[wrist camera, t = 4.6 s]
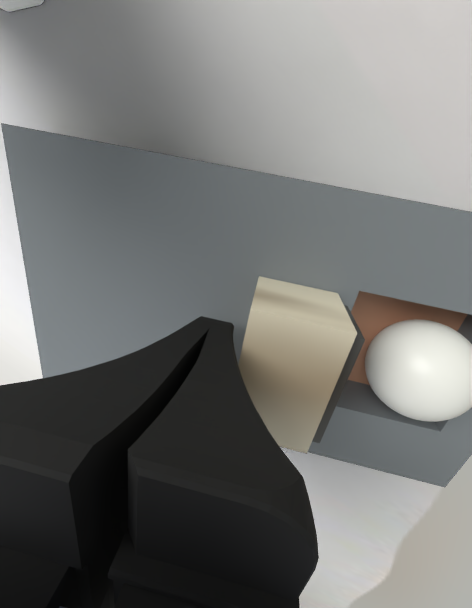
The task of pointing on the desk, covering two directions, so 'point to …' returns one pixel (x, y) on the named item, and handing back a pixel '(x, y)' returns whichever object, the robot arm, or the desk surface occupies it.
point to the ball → (421, 370)
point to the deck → (234, 270)
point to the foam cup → (18, 4)
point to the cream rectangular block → (297, 359)
